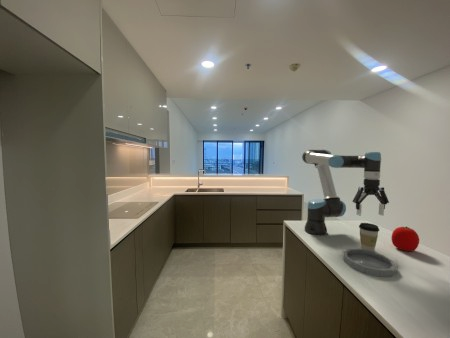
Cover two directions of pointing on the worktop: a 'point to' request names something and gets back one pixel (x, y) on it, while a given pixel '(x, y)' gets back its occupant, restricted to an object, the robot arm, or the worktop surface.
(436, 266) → the worktop surface
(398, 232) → the tomato
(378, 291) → the worktop surface
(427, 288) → the worktop surface
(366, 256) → the tray
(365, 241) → the coffee cup
